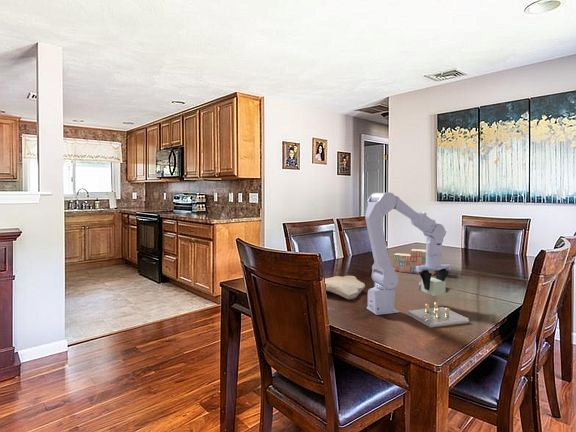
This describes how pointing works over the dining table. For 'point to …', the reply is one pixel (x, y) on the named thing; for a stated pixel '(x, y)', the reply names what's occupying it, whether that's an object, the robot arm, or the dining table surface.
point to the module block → (435, 287)
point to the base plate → (437, 316)
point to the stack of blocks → (410, 261)
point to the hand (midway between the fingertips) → (433, 288)
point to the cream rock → (344, 286)
